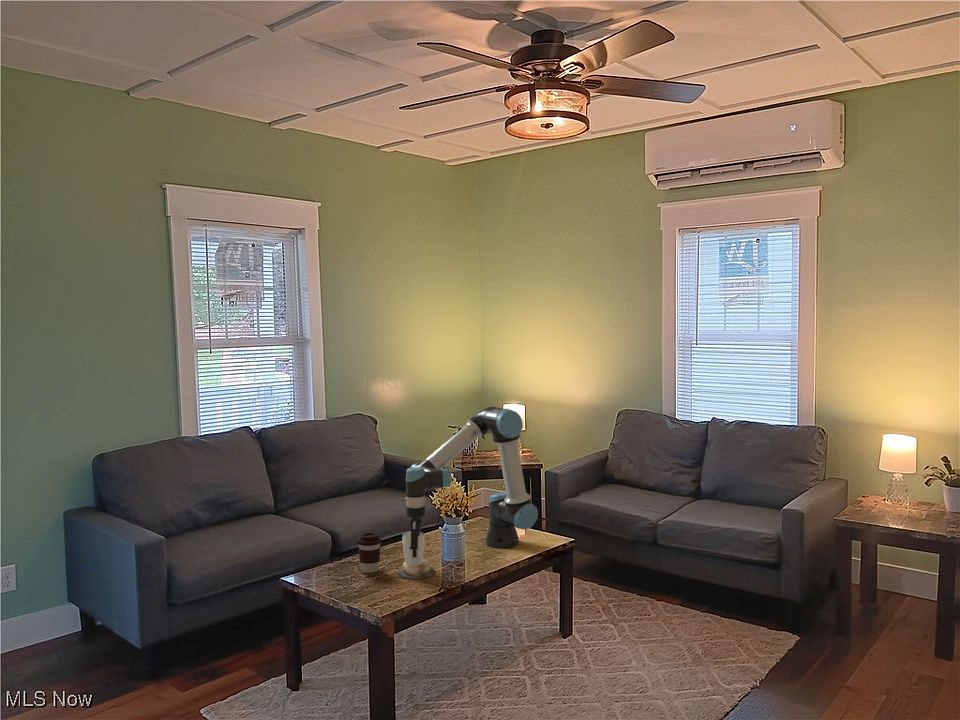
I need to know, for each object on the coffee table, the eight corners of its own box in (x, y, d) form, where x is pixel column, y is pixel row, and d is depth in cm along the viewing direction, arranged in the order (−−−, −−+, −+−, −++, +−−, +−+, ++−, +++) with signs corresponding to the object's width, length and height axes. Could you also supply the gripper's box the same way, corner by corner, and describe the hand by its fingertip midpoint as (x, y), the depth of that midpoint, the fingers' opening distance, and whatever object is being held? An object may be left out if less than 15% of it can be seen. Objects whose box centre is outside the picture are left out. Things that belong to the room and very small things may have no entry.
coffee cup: (385, 567, 328) (385, 532, 327) (376, 575, 318) (375, 539, 317) (363, 565, 330) (363, 530, 329) (353, 573, 321) (352, 537, 320)
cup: (413, 559, 326) (413, 530, 326) (429, 563, 321) (429, 533, 320) (398, 564, 319) (397, 535, 319) (414, 568, 314) (413, 538, 313)
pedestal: (423, 564, 331) (422, 555, 331) (442, 574, 319) (441, 564, 318) (391, 571, 323) (391, 562, 322) (409, 582, 310) (409, 572, 310)
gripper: (409, 499, 329) (410, 552, 331) (403, 512, 308) (403, 569, 309) (427, 499, 329) (427, 552, 331) (422, 513, 308) (422, 569, 309)
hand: (416, 560), depth 320 cm, fingers closed on cup, 9 cm apart
